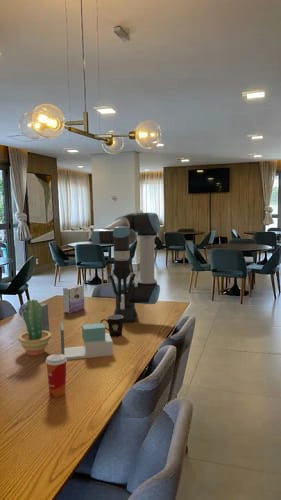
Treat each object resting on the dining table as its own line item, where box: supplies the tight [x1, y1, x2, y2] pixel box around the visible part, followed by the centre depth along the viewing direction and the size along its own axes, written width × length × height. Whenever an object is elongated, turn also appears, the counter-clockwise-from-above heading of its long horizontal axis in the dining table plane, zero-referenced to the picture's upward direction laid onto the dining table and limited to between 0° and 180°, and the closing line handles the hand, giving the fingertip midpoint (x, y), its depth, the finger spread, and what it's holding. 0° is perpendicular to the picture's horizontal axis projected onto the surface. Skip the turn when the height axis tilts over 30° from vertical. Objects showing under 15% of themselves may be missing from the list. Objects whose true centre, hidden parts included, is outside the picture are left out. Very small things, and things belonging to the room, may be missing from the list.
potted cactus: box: [17, 299, 52, 356], centre depth 180 cm, size 16×15×25 cm
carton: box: [81, 322, 106, 342], centre depth 179 cm, size 10×7×6 cm
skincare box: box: [40, 303, 50, 332], centre depth 207 cm, size 8×7×16 cm
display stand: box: [59, 321, 114, 361], centre depth 179 cm, size 23×12×14 cm, turn 104°
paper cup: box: [45, 353, 68, 398], centre depth 140 cm, size 8×8×14 cm
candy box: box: [62, 284, 85, 315], centre depth 252 cm, size 14×6×16 cm, turn 144°
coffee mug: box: [100, 314, 124, 338], centre depth 204 cm, size 12×9×10 cm
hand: (122, 308), depth 181 cm, fingers closed
